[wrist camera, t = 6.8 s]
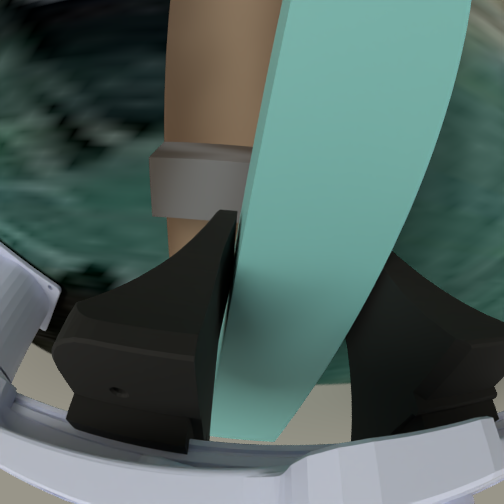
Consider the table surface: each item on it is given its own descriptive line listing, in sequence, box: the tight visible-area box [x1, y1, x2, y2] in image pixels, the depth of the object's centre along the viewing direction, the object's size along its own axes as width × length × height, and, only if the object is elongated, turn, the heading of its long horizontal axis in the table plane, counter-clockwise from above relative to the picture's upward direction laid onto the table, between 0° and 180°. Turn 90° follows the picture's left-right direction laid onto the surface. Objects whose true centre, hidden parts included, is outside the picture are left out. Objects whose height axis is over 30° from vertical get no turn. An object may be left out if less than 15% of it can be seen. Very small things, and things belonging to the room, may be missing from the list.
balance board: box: [149, 0, 283, 257], centre depth 15 cm, size 12×26×4 cm, turn 175°
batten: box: [210, 0, 471, 442], centre depth 10 cm, size 20×4×5 cm, turn 170°
